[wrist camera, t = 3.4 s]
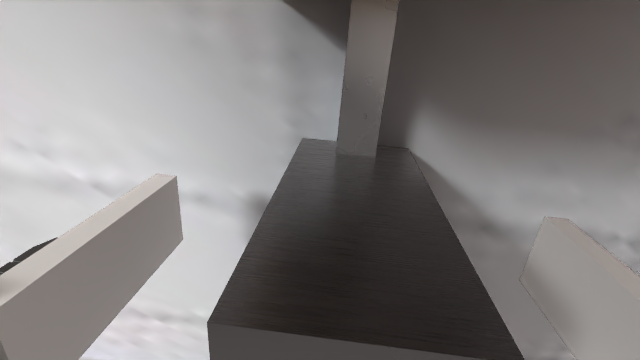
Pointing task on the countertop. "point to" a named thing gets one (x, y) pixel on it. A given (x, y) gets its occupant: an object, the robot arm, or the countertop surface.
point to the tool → (357, 246)
